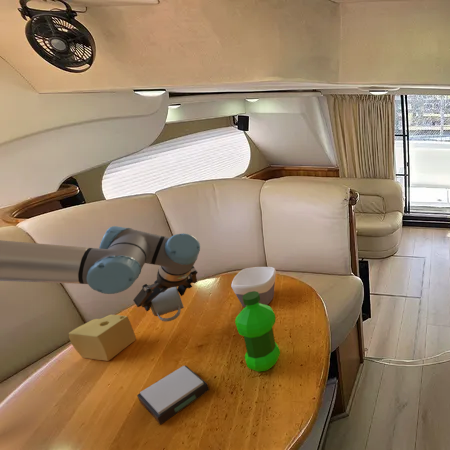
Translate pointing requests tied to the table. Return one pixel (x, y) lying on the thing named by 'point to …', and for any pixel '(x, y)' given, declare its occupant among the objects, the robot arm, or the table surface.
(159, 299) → the ceramic mug
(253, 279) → the bowl
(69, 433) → the table surface
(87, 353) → the cheese
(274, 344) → the plastic bottle
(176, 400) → the scale
